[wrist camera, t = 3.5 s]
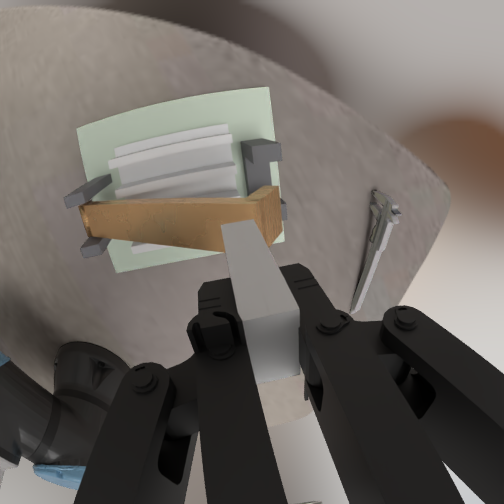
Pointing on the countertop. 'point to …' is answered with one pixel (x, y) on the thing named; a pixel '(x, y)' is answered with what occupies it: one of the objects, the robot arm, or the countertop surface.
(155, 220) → the bar
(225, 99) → the processor board
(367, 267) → the caliper
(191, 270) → the countertop surface
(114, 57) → the countertop surface
